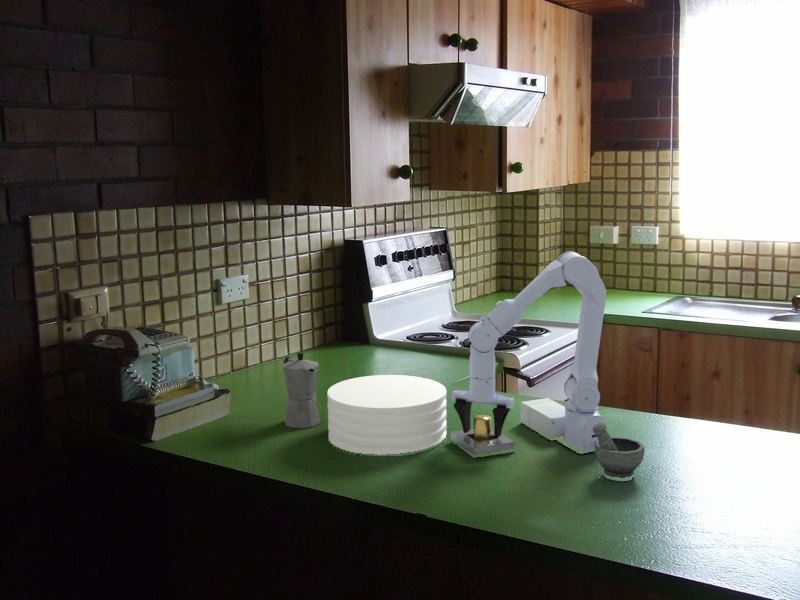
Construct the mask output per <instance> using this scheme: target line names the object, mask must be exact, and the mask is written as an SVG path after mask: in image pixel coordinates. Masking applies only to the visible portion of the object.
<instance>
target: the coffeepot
mask: <svg viewBox="0 0 800 600" xmlns="http://www.w3.org/2000/svg"><path fill="white" fill-rule="evenodd" d="M296 355H297V359H296V358H295V357H291V356H286V357H285V358H284V360H283V363H282V368H283V374H284V381H285V384H286V385H285V387H286V391H287V393H288V394H287V395H288V396H287V401H286V409H285V416H284V417H285V418H284V424H285V426H286V427H288V428H293V429H309V428H313V427H317V426H318V425H319V424H320V423H321V419H320V414H319V407H318V403H317V399H316V398H317V397H316V391H317V385H318V378H319V369H320V364H319V362H318V361H315V360H308V359H304V352H298V353H296Z"/></svg>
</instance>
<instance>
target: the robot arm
mask: <svg viewBox="0 0 800 600" xmlns="http://www.w3.org/2000/svg"><path fill="white" fill-rule="evenodd" d="M566 281H567V282H568V283H569V284H571V285H573V286H574V288H576V290H577V291H578V293H580V295H582V298H581V306H580V314H579V320H578V321H579V322H578V329H577V337H576V344H575V352H574V358H573V364H572V365H571V367H570V370H569V375H568V377H567V379H566V380H565V381H564V384H563V391H564V394H565V396H566V397H567V398H568V399H567V401H566V402H565V404H564V407H565V436H564V441H565V442H566V443H567V444H569V445H572V446H574V447H577V448H579V449H580V450H582V451H586V450H587V451H588V450H593V449H594V450H595V442H597V441H598V438H597V436H596V434H594V432H593V430H592V429H593V426H595V425H596V424H598V423H604V424H605V426H606V427H607V424H606V420H605V418H604V417H603V416H601V414H600V413H599V410H598V409H599V406H598V405H599V404H600V401H601V394H600V391H599V386H598V385H599V376H598V374H597V373H598V372H597V366H598V365H597V364H598V358H599V352H600V351H599V350H600V344H601V336H602V335H601V334H602V330H603V323H604V315H605V308H606V300H607V289H606V288H607V287H606V286H605V284H604V281H603V279H602V278H601V276H600V274H599V271H598V267H597V266H595V265H594V263H592V262H591V261H590V260H589V259H588V258H587V257H585V256H582V255H581V254H579V253H578V252H576V251H572V250H571V251H565V252H563V253H562V254H560V255H559V257H558V258H557V259H555V260H553V261H551V262H550V263H549V264H548V265H547V266H546V267H545V268H544V269H543V270H542V271H541V272H540V273H539V274H538V275H536V277H535V278H534V279H532V281H530V283H528V284H527V286H525V287H524V288H523V289H522V290H521V291H520V292H519V293H518V294H517V295H516V296H515V297H514V298H513V299H512V298H511V299H509V298H506V299H504V300H503V301H501V300H498V301H497V302H496V303H495V306H496V307H494V309H492V310H491V311H490V312H489V313H488V314H487V315H486V316H481V317H480V318H479V322H476V323H474V324H473V325H472V326H470V329H469V331H468V333H467V338H468V340H469V342H470V343H471V344H470V347H469V348H470V349H469V353H470V355H469V390H459V389H456V390H455V389H454V390H453V391H451V401H455V402H454V403H453V408H454V410H455V411H456V413H457V415H458V418H459V420H460V423H461V426H462V430H463V432H464V433H467V432H468V431H470V429H471V412H472V405H473V404H472V403H475V404H483V405H489V406H496V407H494V408H493V409H492V414H493V422H494V423H493V424H494V428H493V429H494V436H495V438H498V437H500V436H501V434H502V431H503V427H504V423H505V421H506V419H507V416H508V414H509V412H510V410H511V409H512V408H514V407H515V397H509V396H504V395H503V394H498V393H496V355H495V348H496V347H497V345H498V340H499V338H502V337H504V336H505V334H507V333H508V332H509V331H510V330H511V329H512V328H513V327H514V326H516V325H517V324H518V323H519V322H521V320H522V319H523V316H524V310H525V309H527V308H528V307H529V306H530V305H532V304H533V303H534V302H535V301H536V300H538V299H539V298H540V297H541V296H543V295H544V294H545V293H546V292H547V291H549V290H550V289H552V288H558V287H566V286H567V284H566Z"/></svg>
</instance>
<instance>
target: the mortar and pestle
mask: <svg viewBox="0 0 800 600" xmlns="http://www.w3.org/2000/svg"><path fill="white" fill-rule="evenodd" d="M592 430H593V432H594V434H596V436H597V438H598V441H597V442H595V452H594V453H595V454H594V455H595V458H596V460H597V461H598V463H599V465H600V466H601V468H602V469H603V471H604V473H605V474H606V475H608V476H611V477H619V478H625V477H630V476H632V475H633V474H634V475H635V472H634V471H635V470H636V469H637V468H638V467H640V465H641V463H642V461H643V460H644V455H645V446H644V444H642V443H641V441H639V440H636V439H632V438H630V437H619V436H611V435H610V433H609V432H608V431H607V425H606V426H605V424H604V423H598V424H596V425H595V426H593V429H592Z"/></svg>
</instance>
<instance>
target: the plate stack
mask: <svg viewBox="0 0 800 600" xmlns="http://www.w3.org/2000/svg"><path fill="white" fill-rule="evenodd" d="M326 392H327V393H326V394H327V395H326V397H327V398H326V399H327V410H328V411H327V420H328V423H327V426H328V427H327V429H328V438H329V439H328V442H329V441H330V442H331V444H333V445H334V446H336V447H338V448H340V449H343V450H346V451H350V452H354V453H362V454H375V455H376V454H377V455H382V454H383V455H386V454H400V453H407V452H414V451H419V450H423V449H427V448H429V447H432V446H435V445H437V444H439V443H441V442H442V441H443V440H444V439H445V438H446V435H447V425H448V424H447V388H446V386H445V385H443V384H442V383H440V382H439V381H436V380H434V379H430V378H425V377H420V376H414V375H406V374H404V375H403V374H401V375H400V374H377V375H367V376H359V377H353V378H349V379H345V380H342V381H339V382H336V383H335V384H333V385H331V386H330V387H329V388H328V390H327V391H326ZM446 439H447V438H446ZM330 442H329V443H330ZM331 444H330V445H331ZM334 446H333V447H334Z"/></svg>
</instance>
